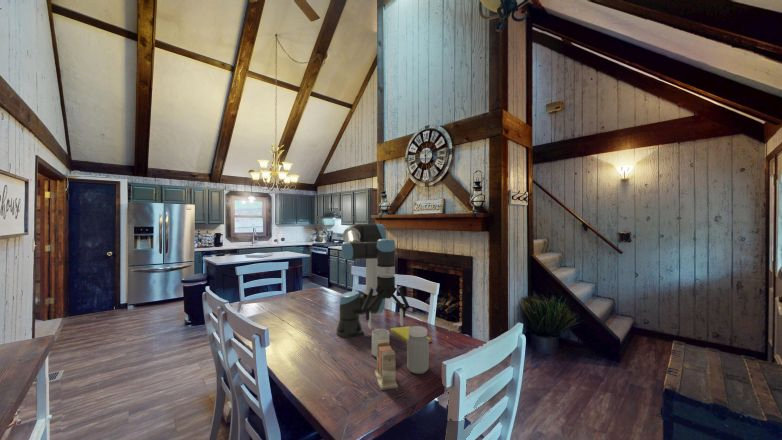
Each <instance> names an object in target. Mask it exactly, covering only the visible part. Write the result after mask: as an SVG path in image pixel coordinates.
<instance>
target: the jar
mask: <svg viewBox="0 0 782 440" xmlns="http://www.w3.org/2000/svg"><path fill="white" fill-rule="evenodd" d="M427 337H428V329H427V327H424V326H422V325H416V326H415V325H413V326H410V328H409V337H408V339H407V342H406V368H407V369H408V370H409V372H410V373H413V374H416V375H421V374H425V373H426V372H428V370H429V366H430V364H429V363H430V361H429V360H430V356H429V355H430V342H429V340H428V338H427Z"/></svg>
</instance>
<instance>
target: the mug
mask: <svg viewBox="0 0 782 440" xmlns="http://www.w3.org/2000/svg"><path fill="white" fill-rule="evenodd" d="M378 340H388V341H389V342H390V330H388V329H385V328H377V329H374V330H372V331H371V354H372V356H373V357H374V358H377V341H378Z"/></svg>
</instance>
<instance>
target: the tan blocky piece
mask: <svg viewBox="0 0 782 440" xmlns="http://www.w3.org/2000/svg"><path fill="white" fill-rule="evenodd" d="M384 346H390V340H389V341H388V340H378V341H377V357H376V369H374V375H375V378H376V380H377V381H376V382H377V383H378V387H379V390H380V391H385V390H386V391H387V390H392V389H398V387H399V386H398V384H397V381H396V371H397V370H396V366H397V365H396V361H397V360H396V359H397V358H396V351H395V350H393V351H384V352H382V373H380V370H379V347H384Z"/></svg>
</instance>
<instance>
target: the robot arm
mask: <svg viewBox="0 0 782 440" xmlns="http://www.w3.org/2000/svg"><path fill="white" fill-rule="evenodd" d="M386 232H387V231H386V227H385V226H384V224H382V223H355V224H352V225H350V226H347V227H346V228H345V229H344V230H343V234H342V239H343V241H344V242H342V243H341V258H342V259H343V260H362V259H364V260H366V261H365V263H366V264H365V289H363V291H362V294H360V292H359V291H353V290H352V291H347V292H344V293H343V294H341V295H340V297H339V303H338V304H339V320H338V324H337V327H336V335H337V336H339V337H342V338H355V337H359V336H360V335H362V333H363V326H362V323H361V320H360V315H365V319H366V321H367V322H368V323H367V325H368V329H369V330H372V315H377V314H381V313H383V312H384V309H385V305H386V299H391V298H392V299H393V300H394V301H395V302H396V303H397V305H399V307H400V308H399V325H400V327H404V318H406V311H407V309H410V303H409V302H408V301H407V298H406V296H405V294H404V291H403V287H402V286H401V285H398V286H396V285H395V284H396V277H395V275H396V241H395V239H393V238H387V233H386ZM396 291H397V292H398V294H399V295H400V298H401V299H402V301H403V303H402V302H401V301H400V300H399V299H398V298H397V296H396V295H395V292H396Z"/></svg>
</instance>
